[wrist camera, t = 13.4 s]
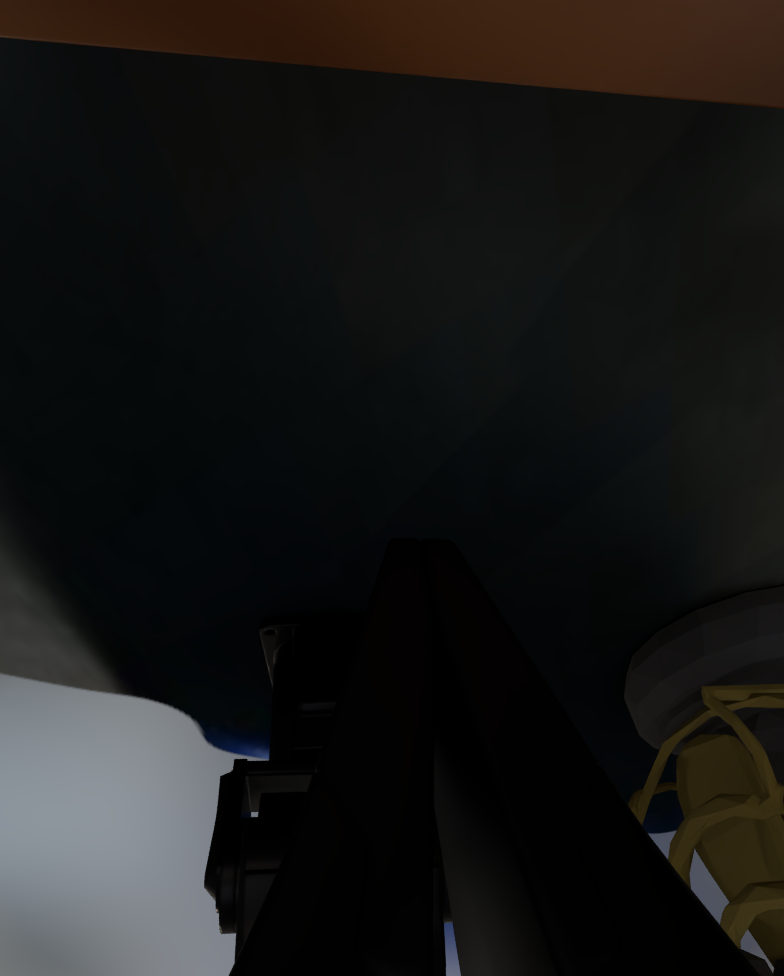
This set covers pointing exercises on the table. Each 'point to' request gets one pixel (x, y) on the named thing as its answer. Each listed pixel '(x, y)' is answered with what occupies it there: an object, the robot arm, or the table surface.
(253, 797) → the robot arm
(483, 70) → the lid
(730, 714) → the electric fan
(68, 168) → the table surface
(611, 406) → the table surface
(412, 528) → the table surface
